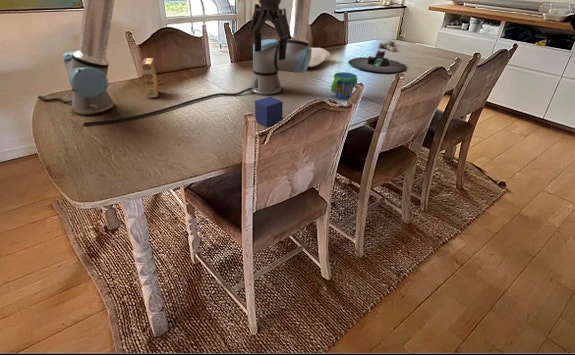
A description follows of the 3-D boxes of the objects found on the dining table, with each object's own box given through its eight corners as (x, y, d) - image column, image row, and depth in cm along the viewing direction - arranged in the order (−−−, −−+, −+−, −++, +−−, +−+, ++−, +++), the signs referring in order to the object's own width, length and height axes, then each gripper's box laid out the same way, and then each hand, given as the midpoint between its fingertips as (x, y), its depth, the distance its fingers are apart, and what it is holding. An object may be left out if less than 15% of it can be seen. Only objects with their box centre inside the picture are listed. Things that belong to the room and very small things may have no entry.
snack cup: (348, 90, 181) (350, 70, 176) (362, 97, 174) (365, 76, 168) (323, 95, 174) (325, 74, 168) (337, 102, 166) (340, 80, 161)
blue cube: (266, 126, 142) (266, 106, 138) (255, 120, 147) (254, 100, 142) (282, 121, 147) (282, 101, 142) (270, 115, 151) (270, 96, 147)
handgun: (406, 44, 264) (388, 40, 272) (394, 47, 252) (376, 43, 260) (405, 48, 265) (387, 44, 273) (394, 52, 254) (375, 47, 262)
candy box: (157, 97, 164) (152, 63, 155) (147, 98, 163) (141, 63, 155) (158, 91, 171) (153, 57, 163) (149, 91, 170) (143, 58, 162)
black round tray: (418, 67, 219) (420, 52, 215) (377, 75, 202) (379, 59, 197) (375, 58, 244) (377, 43, 239) (336, 64, 226) (337, 49, 222)
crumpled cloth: (269, 61, 216) (271, 46, 210) (311, 52, 236) (313, 38, 230) (296, 77, 203) (298, 61, 198) (337, 66, 223) (341, 52, 218)
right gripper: (304, -6, 116) (300, 61, 128) (255, -14, 131) (256, 46, 143) (286, -5, 112) (284, 65, 123) (238, -13, 127) (240, 49, 138)
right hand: (269, 55), depth 133 cm, fingers open, 13 cm apart
